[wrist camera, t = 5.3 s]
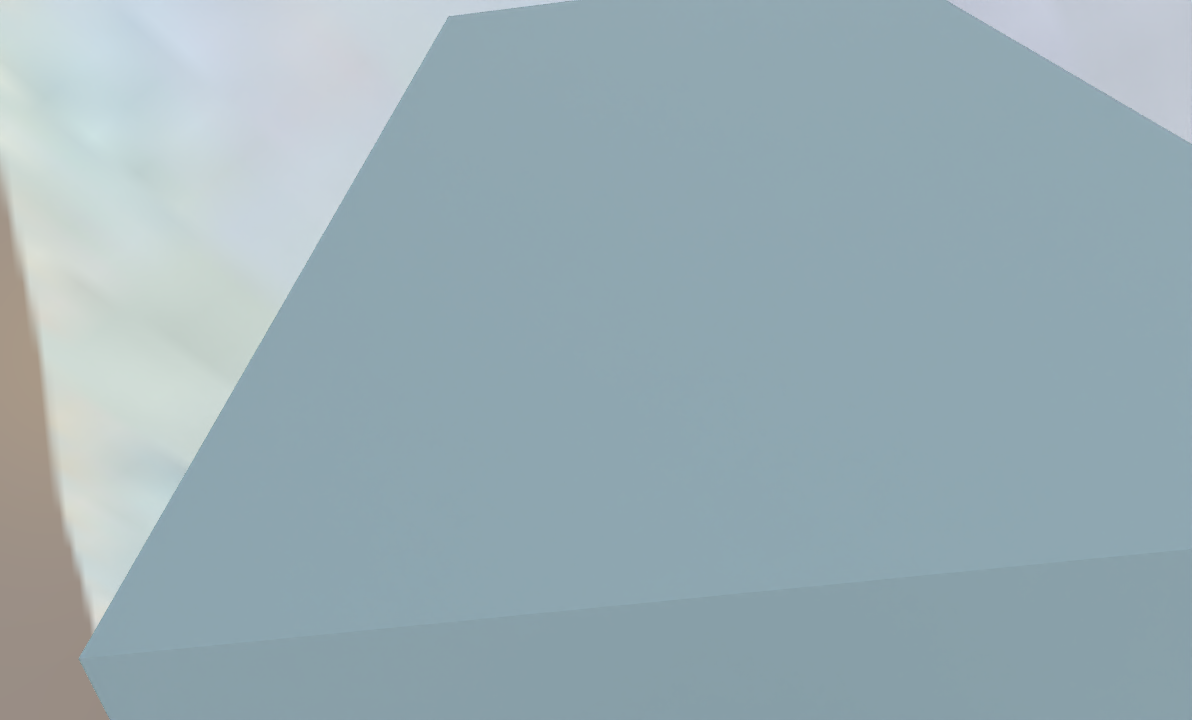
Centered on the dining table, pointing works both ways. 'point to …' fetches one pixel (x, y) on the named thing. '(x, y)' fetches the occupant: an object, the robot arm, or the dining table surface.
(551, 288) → the carton
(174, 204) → the dining table surface
